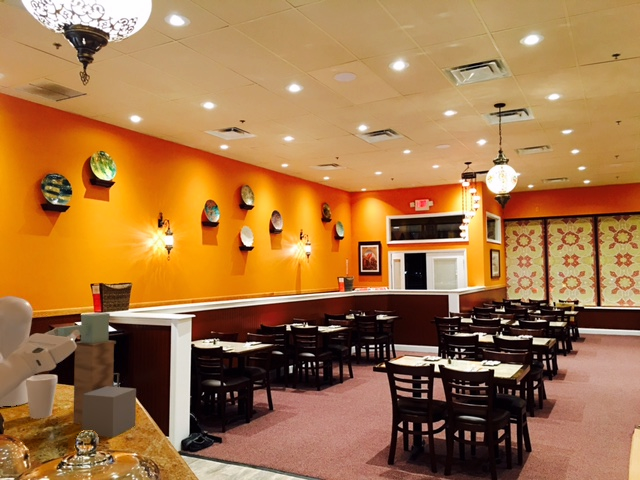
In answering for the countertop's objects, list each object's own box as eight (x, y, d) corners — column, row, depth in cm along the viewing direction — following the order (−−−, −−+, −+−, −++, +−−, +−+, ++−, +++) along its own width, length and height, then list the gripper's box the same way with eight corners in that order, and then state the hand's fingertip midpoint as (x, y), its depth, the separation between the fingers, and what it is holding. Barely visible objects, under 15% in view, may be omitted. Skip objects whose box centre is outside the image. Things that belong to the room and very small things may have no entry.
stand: (91, 427, 167) (93, 344, 168) (72, 422, 172) (74, 342, 173) (114, 420, 175) (116, 341, 176) (95, 415, 180) (97, 338, 181)
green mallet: (66, 347, 162) (67, 318, 163) (54, 345, 166) (55, 317, 166) (112, 340, 177) (113, 313, 177) (101, 339, 180) (101, 312, 180)
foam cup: (49, 410, 186) (50, 373, 186) (61, 415, 180) (62, 377, 180) (20, 416, 178) (21, 377, 179) (31, 422, 172) (32, 381, 173)
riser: (81, 434, 161) (82, 394, 161) (106, 423, 171) (106, 386, 172) (112, 437, 158) (113, 397, 158) (135, 426, 168) (136, 388, 169)
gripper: (15, 363, 162) (53, 336, 173) (55, 370, 152) (93, 341, 162) (5, 346, 160) (44, 320, 170) (45, 353, 149) (84, 324, 160)
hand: (68, 330), depth 166 cm, fingers open, 8 cm apart
